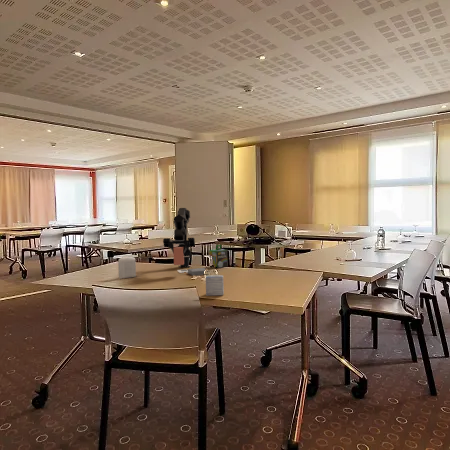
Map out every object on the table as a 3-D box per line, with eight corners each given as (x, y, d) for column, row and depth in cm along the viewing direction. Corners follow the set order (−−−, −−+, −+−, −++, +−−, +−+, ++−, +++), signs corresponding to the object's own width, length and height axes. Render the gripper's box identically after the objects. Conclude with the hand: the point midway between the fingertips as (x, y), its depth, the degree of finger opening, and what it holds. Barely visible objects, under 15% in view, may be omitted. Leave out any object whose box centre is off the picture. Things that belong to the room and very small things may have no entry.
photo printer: (134, 276, 231) (133, 255, 230) (137, 277, 227) (136, 256, 227) (117, 278, 225) (116, 257, 225) (120, 279, 222) (119, 257, 221)
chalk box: (220, 265, 265) (219, 243, 264) (228, 266, 258) (227, 244, 257) (209, 266, 259) (208, 244, 259) (217, 268, 252) (216, 245, 251)
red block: (174, 263, 230) (174, 247, 229) (184, 263, 230) (183, 246, 229) (174, 265, 225) (173, 248, 225) (183, 264, 225) (182, 247, 225)
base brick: (187, 273, 235) (187, 269, 235) (203, 271, 239) (203, 267, 239) (192, 275, 226) (192, 271, 226) (208, 274, 230) (208, 270, 230)
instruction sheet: (176, 270, 247) (176, 270, 247) (198, 269, 251) (198, 268, 251) (179, 272, 237) (179, 272, 237) (201, 271, 241) (201, 270, 241)
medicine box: (223, 293, 178) (223, 274, 178) (223, 295, 174) (222, 276, 173) (207, 293, 179) (206, 275, 178) (205, 295, 174) (205, 276, 174)
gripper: (163, 225, 230) (160, 245, 220) (194, 224, 230) (193, 244, 220) (165, 236, 238) (163, 257, 228) (195, 236, 239) (194, 256, 228)
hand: (178, 253), depth 226 cm, fingers closed on red block, 5 cm apart
